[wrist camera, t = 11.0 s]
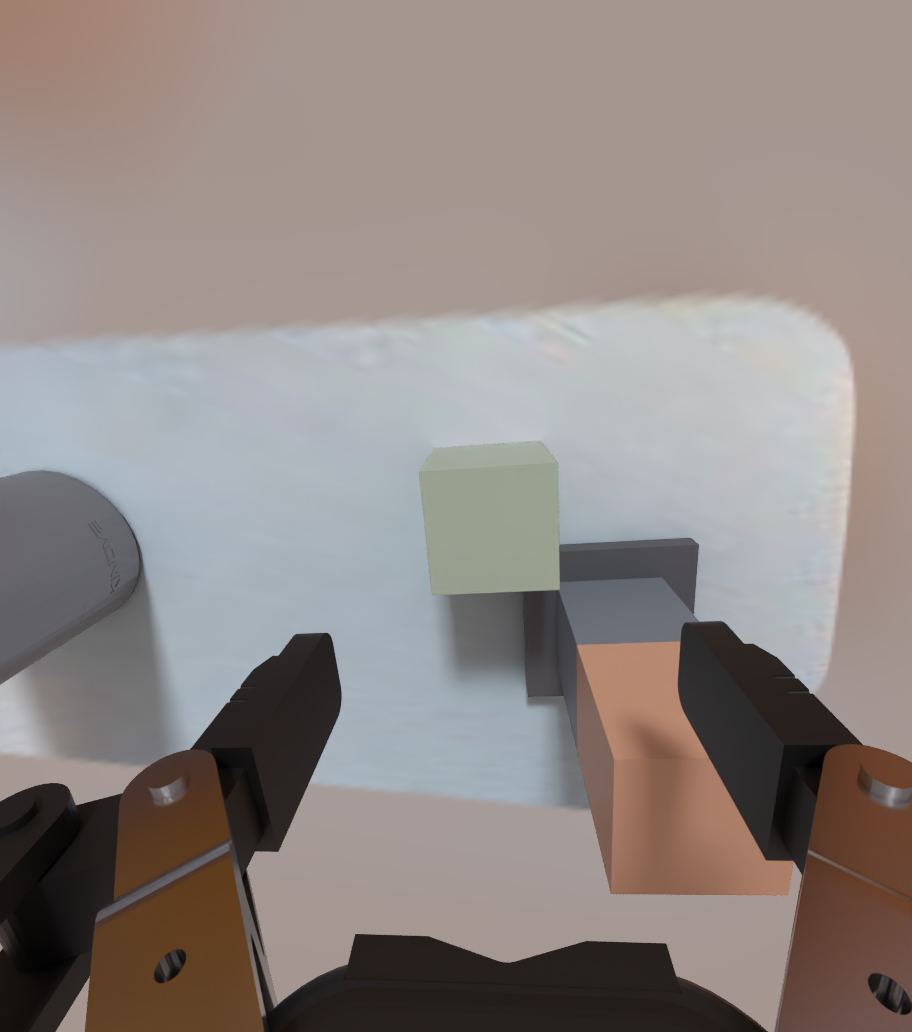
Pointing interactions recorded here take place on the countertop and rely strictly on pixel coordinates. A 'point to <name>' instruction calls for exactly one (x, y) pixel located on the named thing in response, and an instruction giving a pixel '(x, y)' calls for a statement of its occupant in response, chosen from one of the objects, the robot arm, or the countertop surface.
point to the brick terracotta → (659, 783)
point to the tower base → (600, 566)
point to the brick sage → (491, 518)
